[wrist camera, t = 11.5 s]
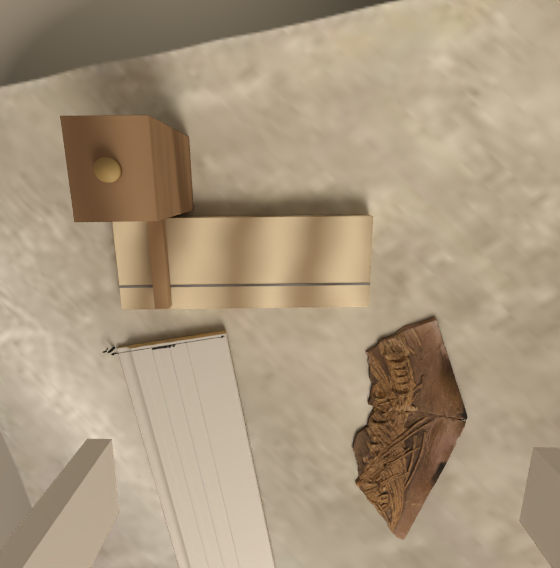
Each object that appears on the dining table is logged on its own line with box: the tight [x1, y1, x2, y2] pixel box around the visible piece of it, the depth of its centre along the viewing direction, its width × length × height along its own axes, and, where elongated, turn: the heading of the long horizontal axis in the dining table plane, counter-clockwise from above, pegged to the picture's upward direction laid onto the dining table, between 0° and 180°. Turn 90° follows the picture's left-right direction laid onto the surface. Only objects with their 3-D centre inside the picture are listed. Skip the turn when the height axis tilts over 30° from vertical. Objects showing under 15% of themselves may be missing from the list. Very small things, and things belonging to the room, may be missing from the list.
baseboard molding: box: [103, 330, 275, 568], centre depth 41 cm, size 31×3×12 cm
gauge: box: [60, 115, 194, 309], centre depth 29 cm, size 5×14×12 cm, turn 1°
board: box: [112, 215, 373, 310], centre depth 35 cm, size 22×8×2 cm, turn 91°
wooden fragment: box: [353, 317, 467, 539], centre depth 40 cm, size 26×11×1 cm, turn 175°
